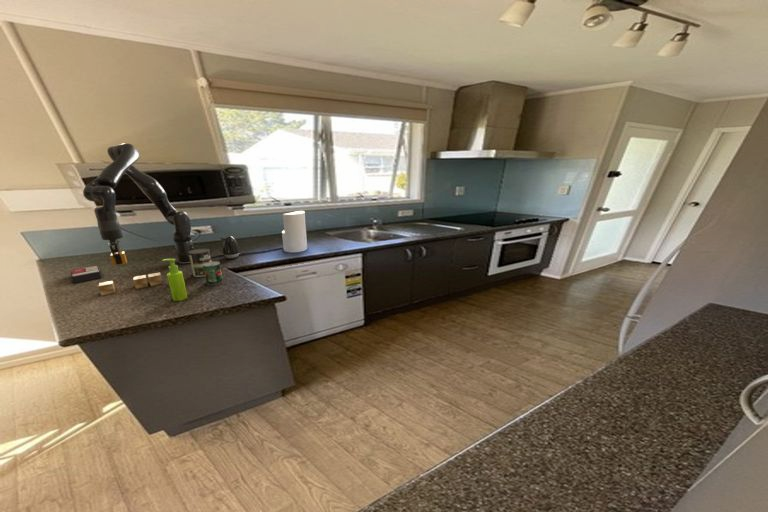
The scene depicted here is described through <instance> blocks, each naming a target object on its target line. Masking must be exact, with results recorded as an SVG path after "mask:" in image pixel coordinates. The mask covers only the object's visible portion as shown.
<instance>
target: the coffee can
mask: <svg viewBox="0 0 768 512" xmlns="http://www.w3.org/2000/svg"><path fill="white" fill-rule="evenodd" d="M188 253H189V257H190V262H191V263H190V265H191V272H192V276H193V277H195V278H203V277H205V273H204V267H203V264H204V263H207V262H212V258H211V257H212V256H211V253H210V249H209V248H203V247H202V248H194V250H191V251H189V252H188Z"/></svg>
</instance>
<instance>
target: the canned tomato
mask: <svg viewBox="0 0 768 512" xmlns="http://www.w3.org/2000/svg"><path fill="white" fill-rule="evenodd" d="M203 267H204V273H205V276H204V277H205V283H206V285H207V286H217V285H220V284H222V283H223V282H224V279H223V273H222V272H223V271H222V267H221V262H220V261H217V260H211V262H207V263H204V264H203Z"/></svg>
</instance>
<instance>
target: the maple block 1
mask: <svg viewBox="0 0 768 512" xmlns="http://www.w3.org/2000/svg"><path fill="white" fill-rule="evenodd" d="M97 287H98V291H99V293H100V296H106V295H111V294H115V293H116V286H115V283H114V281H113V280H109V281H102V282H99V283H98V285H97Z"/></svg>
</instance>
